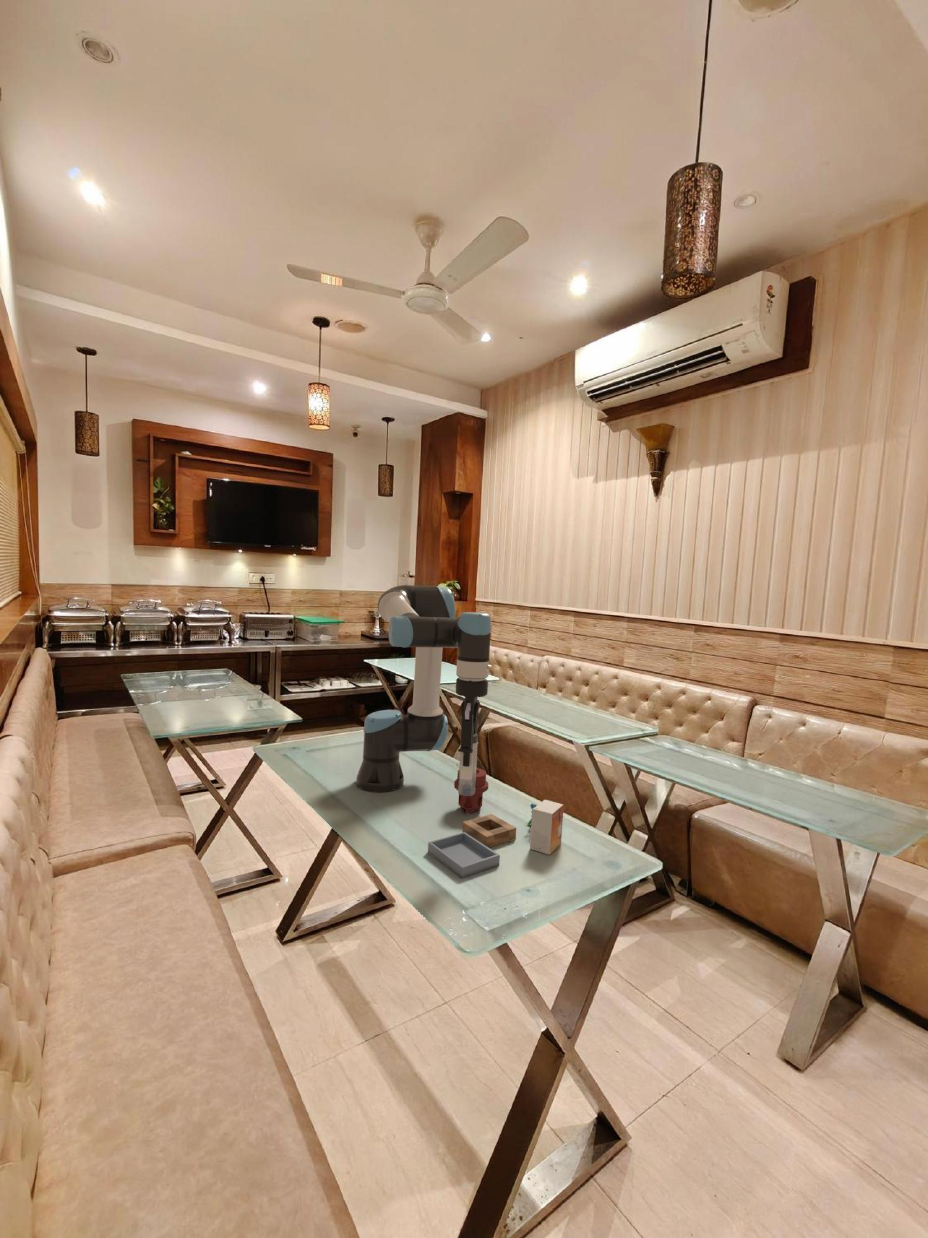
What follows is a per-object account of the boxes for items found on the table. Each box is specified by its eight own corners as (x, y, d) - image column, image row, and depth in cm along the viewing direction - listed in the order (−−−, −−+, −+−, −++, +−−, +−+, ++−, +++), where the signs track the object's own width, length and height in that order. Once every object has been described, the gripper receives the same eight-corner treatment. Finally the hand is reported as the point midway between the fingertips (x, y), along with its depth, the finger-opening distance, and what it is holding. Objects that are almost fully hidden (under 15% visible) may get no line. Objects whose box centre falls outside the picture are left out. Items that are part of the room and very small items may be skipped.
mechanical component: (489, 805, 164) (484, 818, 154) (456, 801, 166) (449, 814, 156) (491, 765, 163) (486, 776, 154) (458, 761, 165) (451, 772, 156)
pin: (454, 791, 131) (457, 733, 130) (468, 788, 133) (471, 731, 132) (464, 797, 127) (467, 738, 127) (478, 793, 130) (481, 735, 129)
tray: (427, 852, 134) (428, 842, 133) (463, 841, 140) (464, 831, 140) (461, 878, 122) (462, 867, 122) (499, 865, 129) (499, 855, 129)
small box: (549, 856, 135) (552, 814, 134) (529, 849, 138) (531, 808, 137) (561, 843, 142) (564, 804, 141) (542, 837, 145) (544, 798, 144)
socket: (462, 833, 145) (462, 822, 145) (491, 824, 151) (491, 814, 151) (486, 848, 137) (486, 837, 137) (515, 839, 143) (516, 828, 143)
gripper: (484, 685, 120) (478, 790, 121) (491, 673, 136) (486, 765, 138) (450, 683, 121) (445, 786, 122) (461, 671, 137) (457, 762, 139)
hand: (467, 775), depth 130 cm, fingers closed on pin, 4 cm apart
